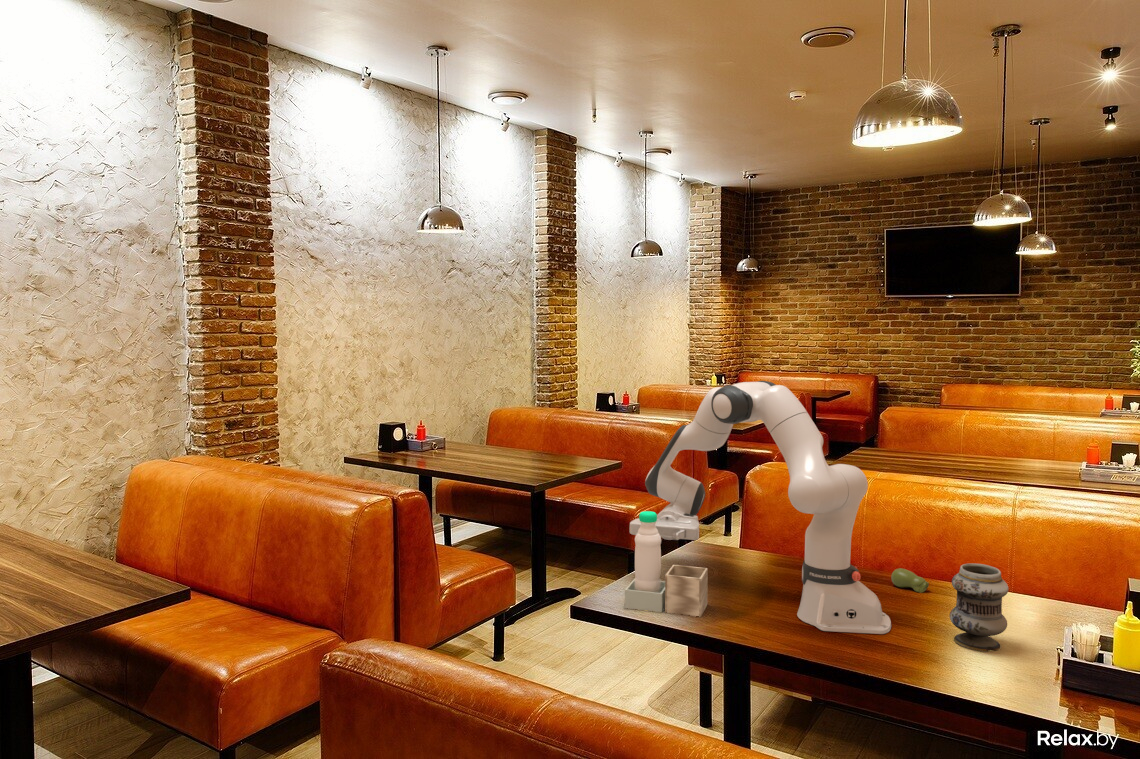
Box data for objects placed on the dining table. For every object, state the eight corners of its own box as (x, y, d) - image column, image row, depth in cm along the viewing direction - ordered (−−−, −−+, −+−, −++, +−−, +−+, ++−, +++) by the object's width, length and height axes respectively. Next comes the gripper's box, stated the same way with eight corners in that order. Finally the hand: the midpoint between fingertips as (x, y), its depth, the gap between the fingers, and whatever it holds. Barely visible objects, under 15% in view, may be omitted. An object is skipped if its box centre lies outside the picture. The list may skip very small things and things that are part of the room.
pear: (897, 563, 230) (933, 576, 223) (894, 580, 231) (929, 594, 224) (890, 568, 226) (926, 581, 219) (886, 585, 227) (922, 599, 220)
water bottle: (660, 600, 216) (661, 509, 214) (661, 609, 209) (661, 515, 207) (634, 599, 217) (635, 509, 215) (634, 608, 210) (634, 515, 208)
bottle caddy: (670, 600, 216) (670, 582, 216) (661, 612, 207) (661, 593, 206) (634, 596, 219) (634, 578, 219) (624, 608, 210) (624, 589, 210)
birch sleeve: (707, 604, 212) (707, 568, 212) (700, 617, 203) (701, 578, 203) (672, 600, 215) (672, 564, 215) (665, 612, 207) (665, 575, 206)
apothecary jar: (976, 656, 179) (978, 578, 178) (937, 636, 190) (939, 563, 189) (1018, 650, 182) (1021, 573, 181) (978, 630, 194) (980, 558, 193)
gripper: (635, 511, 240) (623, 521, 227) (703, 516, 233) (694, 527, 220) (635, 531, 240) (623, 543, 227) (703, 537, 233) (694, 549, 220)
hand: (658, 535), depth 224 cm, fingers open, 8 cm apart
